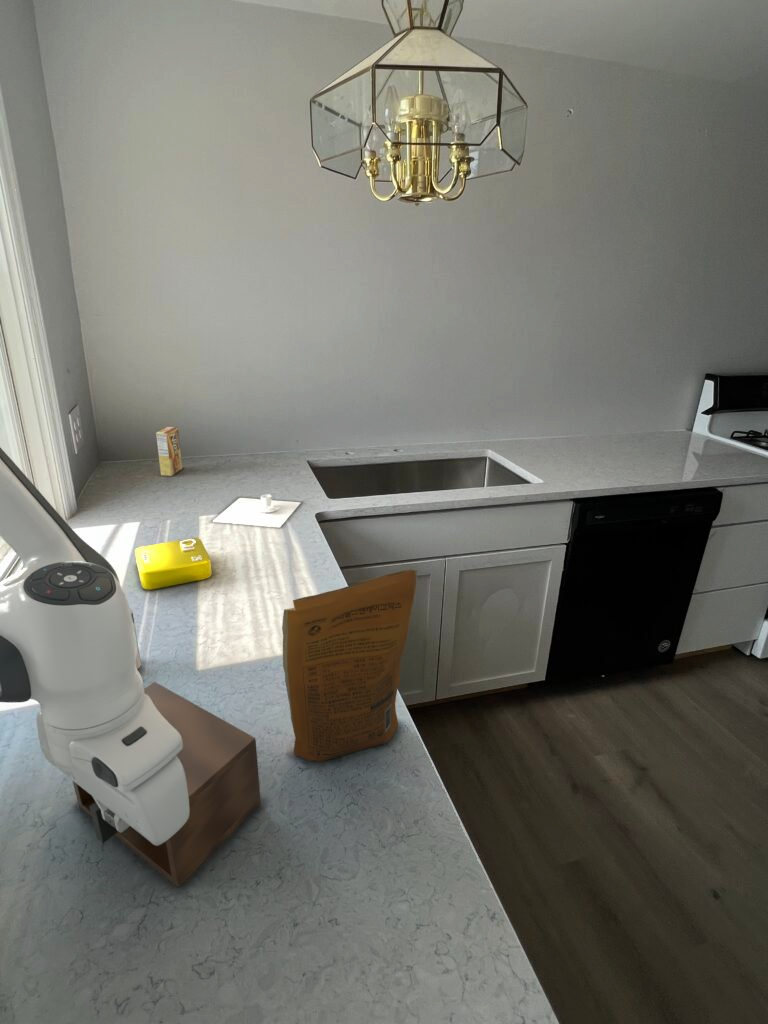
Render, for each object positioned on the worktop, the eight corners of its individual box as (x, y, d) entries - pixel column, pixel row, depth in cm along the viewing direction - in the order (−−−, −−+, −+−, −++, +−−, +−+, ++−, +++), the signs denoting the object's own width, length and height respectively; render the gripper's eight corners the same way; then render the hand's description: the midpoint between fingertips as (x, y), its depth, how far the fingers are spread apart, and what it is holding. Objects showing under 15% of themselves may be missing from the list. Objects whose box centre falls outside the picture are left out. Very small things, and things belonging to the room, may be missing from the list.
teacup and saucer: (274, 515, 162) (273, 502, 160) (248, 513, 163) (247, 500, 162) (284, 505, 170) (283, 492, 169) (259, 503, 171) (258, 490, 170)
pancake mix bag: (418, 744, 82) (429, 576, 72) (291, 781, 75) (282, 602, 65) (400, 713, 88) (407, 554, 77) (280, 745, 81) (271, 576, 71)
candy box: (171, 468, 201) (166, 426, 196) (183, 468, 201) (178, 427, 195) (160, 475, 193) (155, 432, 188) (172, 476, 193) (167, 433, 187)
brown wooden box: (178, 888, 62) (166, 816, 58) (78, 807, 71) (62, 740, 67) (260, 803, 72) (255, 737, 68) (164, 742, 81) (154, 681, 77)
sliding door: (109, 860, 63) (97, 805, 60) (68, 825, 67) (54, 772, 64) (145, 830, 67) (134, 776, 64) (103, 798, 71) (92, 746, 68)
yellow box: (136, 563, 133) (133, 545, 131) (201, 551, 139) (199, 534, 137) (143, 592, 120) (139, 572, 119) (213, 578, 127) (211, 559, 125)
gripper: (8, 697, 57) (35, 796, 62) (135, 790, 47) (154, 898, 52) (69, 665, 62) (89, 759, 67) (194, 743, 52) (206, 846, 57)
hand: (118, 821), depth 60 cm, fingers closed
